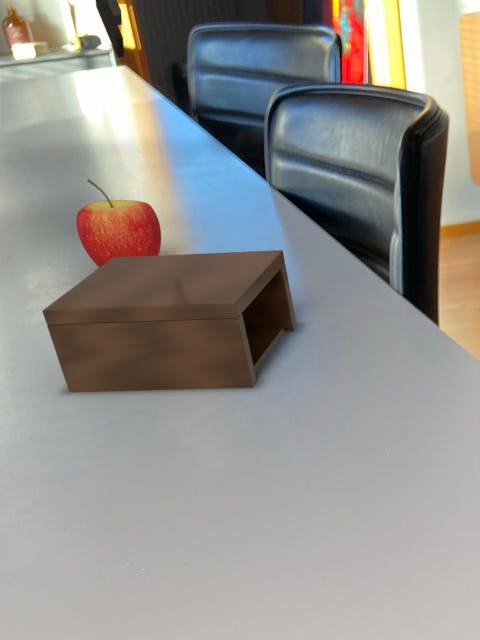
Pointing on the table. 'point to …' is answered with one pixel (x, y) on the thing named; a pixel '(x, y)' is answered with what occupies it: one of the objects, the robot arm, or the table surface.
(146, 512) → the table surface
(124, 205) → the apple
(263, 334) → the shelf
